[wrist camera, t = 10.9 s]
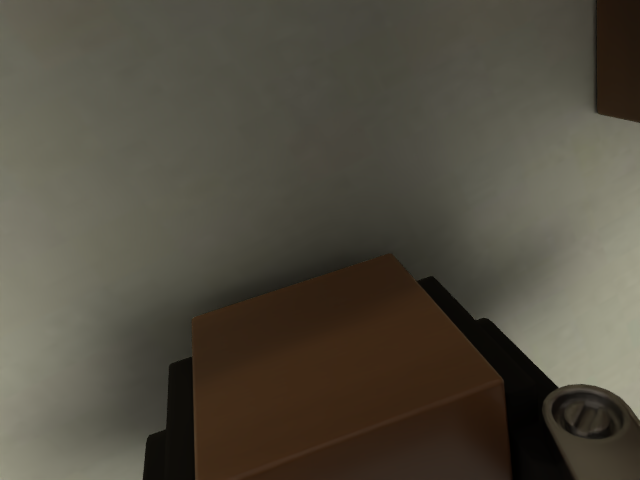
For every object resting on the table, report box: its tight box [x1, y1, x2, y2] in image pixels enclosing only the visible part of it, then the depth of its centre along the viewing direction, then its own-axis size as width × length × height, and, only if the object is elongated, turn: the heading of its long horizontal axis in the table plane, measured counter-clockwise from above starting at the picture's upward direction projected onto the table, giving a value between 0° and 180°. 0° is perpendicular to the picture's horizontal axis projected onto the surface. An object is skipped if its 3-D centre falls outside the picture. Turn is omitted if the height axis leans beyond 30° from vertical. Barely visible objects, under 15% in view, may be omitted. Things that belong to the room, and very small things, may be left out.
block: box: [191, 253, 513, 480], centre depth 10 cm, size 4×4×4 cm
